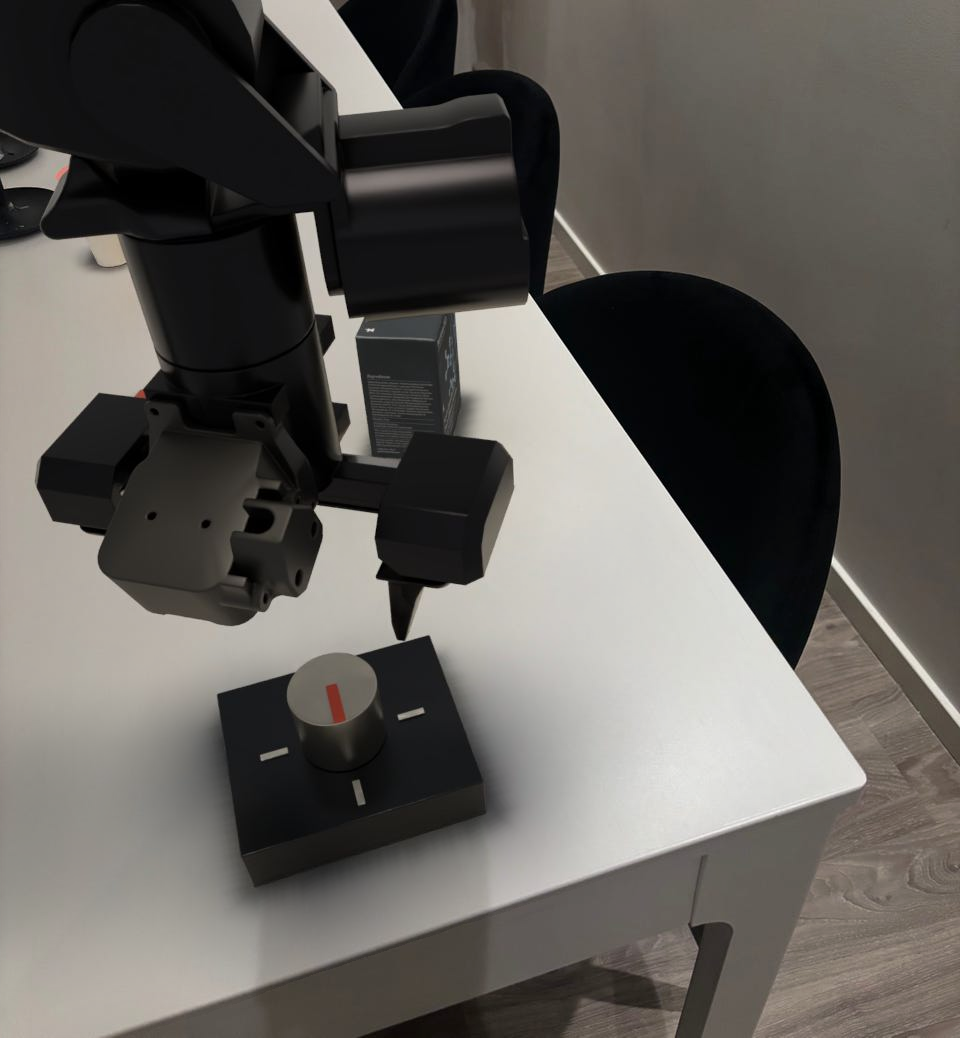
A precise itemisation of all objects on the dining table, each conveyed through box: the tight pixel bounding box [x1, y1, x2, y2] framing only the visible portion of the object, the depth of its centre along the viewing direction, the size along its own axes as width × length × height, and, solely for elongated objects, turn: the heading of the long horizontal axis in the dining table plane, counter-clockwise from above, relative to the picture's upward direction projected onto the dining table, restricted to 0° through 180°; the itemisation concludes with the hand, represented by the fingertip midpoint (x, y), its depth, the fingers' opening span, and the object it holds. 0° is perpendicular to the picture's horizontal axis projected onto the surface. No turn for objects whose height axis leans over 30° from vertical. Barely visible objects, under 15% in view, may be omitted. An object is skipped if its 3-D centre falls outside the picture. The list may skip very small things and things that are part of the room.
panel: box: [216, 634, 487, 887], centre depth 51 cm, size 12×10×3 cm
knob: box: [287, 652, 386, 771], centre depth 48 cm, size 4×4×4 cm
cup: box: [55, 164, 127, 268], centre depth 92 cm, size 5×5×12 cm
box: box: [354, 313, 462, 460], centre depth 70 cm, size 8×6×11 cm
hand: (310, 617), depth 45 cm, fingers open, 9 cm apart
